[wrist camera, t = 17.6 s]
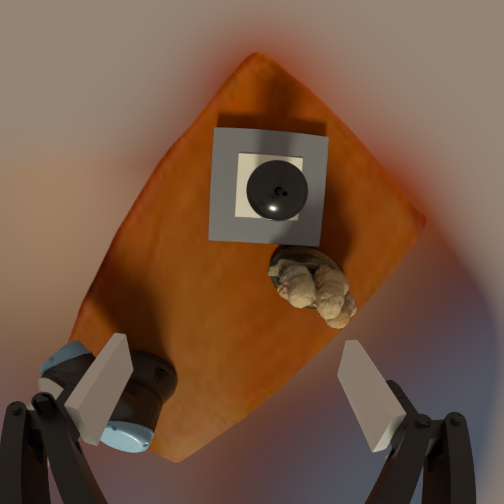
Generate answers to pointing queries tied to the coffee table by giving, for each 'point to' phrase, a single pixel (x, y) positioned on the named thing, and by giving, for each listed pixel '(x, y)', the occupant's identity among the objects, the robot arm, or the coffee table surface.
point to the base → (236, 177)
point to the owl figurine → (313, 283)
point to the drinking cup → (277, 190)
